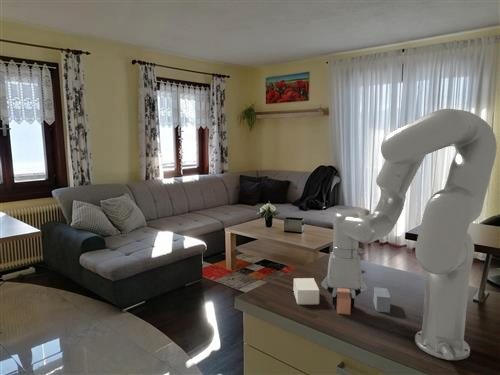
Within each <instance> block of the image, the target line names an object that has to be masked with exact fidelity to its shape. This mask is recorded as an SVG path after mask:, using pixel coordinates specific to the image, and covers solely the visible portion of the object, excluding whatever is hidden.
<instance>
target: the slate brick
mask: <svg viewBox="0 0 500 375" xmlns="http://www.w3.org/2000/svg"><path fill="white" fill-rule="evenodd" d="M391 298H392V297H391V295H390V292H389V290H388V288H386V287H378V286H377V287H375V286H374V287H373V300H372V301H373V304H374V308H375V311H376V312H377V313H378V312H379V313H390V312H391V301H392V299H391Z"/></svg>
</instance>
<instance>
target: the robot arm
mask: <svg viewBox="0 0 500 375" xmlns="http://www.w3.org/2000/svg"><path fill="white" fill-rule="evenodd" d="M448 147H454V148H455V149H454V150H455V152H454V157H453V158H452V160H451V163H450V167H449V171H448V176H447V177H446V178H447V180H446V182H445V186H444V188H442V189H440V190H439V191H436V192H434V193H433V195H432V196H430V198H429V199H428V200H427V202H426V204H425V207H424V211H423V214H422V218H421V223H420V226H419V230H418V234H417V239H416V242H415V252H414V253H415V257H416V261H417V262H418V263H417V264H419V266H420V267H421V268H422V269H423V270H425V271H426V276H425V286H424V287H425V288H424V301H423V316H422V325H421V326H422V327H421V328H422V329H421V330H420V331H417V333H416V334H415V336H414V342H415V344H416V346H418V348H419V349H420V350H422V351H423V352H424V353H427V354H428V355H431V356H432V357H433V356H434V357H435V358H438V359H441V360H442V359H443V360H447V361H460V360H464V359H467V358H468V357H469V356H470V355H471V347H470V345H469V343H467V341H465V330H466V329H465V328H466V318H467V317H466V316H467V308H468V307H467V306H468V305H467V304H468V296H469V289H470V288H469V285H470V280H471V279H470V278H471V272H472V266H473V262H474V256H475V244H474V240H473V239H472V237H471V235H470V233H468V231H469V226H470V224H472V223H474V222H475V221H476V220H478V218H479V217H480V216H481V215H482V214H481V213H482V211H483V208H484V203H485V200H486V195H487V191H488V188H489V185H490V181H491V176H492V172H493V168H494V165H495V161H496V156H497V149H498V146H497V138H496V134H495V132H494V130H493V128H492V127H491V125H490V124H489V123H488V122H487V121H486V120H484V119H483V118H482V117H481V116H479V115H477V114H475V113H474V112H471V111H467V110H463V109H455V108H442V109H437V110H435V111H432V112H430V113H428V114H426V115H424V116H421V117H420V118H417V119H415V120H413V121H412V122H409V123H407V124H404V125H402V126H399V127H398V128H396V129H394V130H392V131H391V132H389V133H388V134H387V135H386V136H384V138H383V140H382V142H381V145H380V153H381V156H382V157H383V158H384V162H383V164H382V167H381V169H380V170H379V173H378V175H377V177H376V179H375V182H376V185H377V186H378V187H379V190H380V196H379V200H378V202H377V204H376V207H375V209H374V211H373V212H372V213H369V214H368V215H364V216H360V215H359V213H357V212H354V211H348V210H347V211H346V210H340V211H337V212H335V214H334V216H333V235H332V239H333V240H332V253H330V254H329V259H328V265H327V275H326V277H325V278H324V279H323V280H322V282H321V287H322V288H324V289H325V290H327V291H328V293H329V294H330V295H331V297H332V302H331V303H332V306H334V309H335V310H337V289H338V288H343V289H350V297H351V309H350V312H351V311H353V308H354V307H355V301H356V300H355V299H356V297H358V296H359V295H361V293H363V292H366V291H367V290H368V286H367V285H366V283H365V282H364V280H363V278H362V264H361V256H360V254H361V255H362V254H364V249H363V248H360V247H359V243H362V244H371V243H374V242H375V241H376V242H377V241H378V240H379V239H383V238H385V237H387V236H388V235H389V234H390V233H391V232H392V231H393V230H394V228H395V226H396V224H397V223H398V221H399V219H400V217H401V215H402V213H403V210H404V207H405V202H406V200H407V199H406V197H407V192H408V190H409V188H410V186H411V184H412V183H413V180H414V178H415V176H416V174H417V173H418V170H419V168H420V167H421V166H422V164H423V161H424V159H425V157H426V156H427V155H429V154H432V153H434V152H437V151H439V150H442V149H445V148H448Z"/></svg>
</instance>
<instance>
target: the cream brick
mask: <svg viewBox="0 0 500 375" xmlns="http://www.w3.org/2000/svg"><path fill="white" fill-rule="evenodd" d="M292 290H293V291H294V292H293V295H294V297H295V300H296V304H297V305H320V289H319V286H318V284H317V282H316V281H315V278H314V277H309V278H308V277H303V278H299V277H297V278H296V277H295V278H293V289H292Z"/></svg>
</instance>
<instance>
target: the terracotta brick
mask: <svg viewBox="0 0 500 375" xmlns="http://www.w3.org/2000/svg"><path fill="white" fill-rule="evenodd" d="M350 294H351V289H345V288H338V289H337V309H336V314H339V315H349V316H350V315H351V310H350V309H351V297H350Z"/></svg>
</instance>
